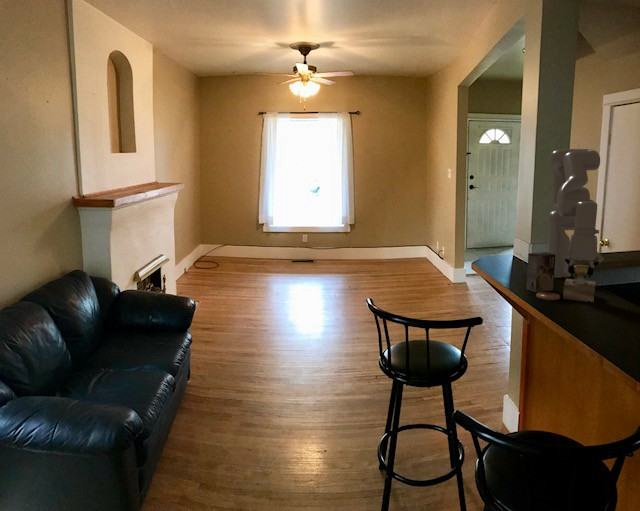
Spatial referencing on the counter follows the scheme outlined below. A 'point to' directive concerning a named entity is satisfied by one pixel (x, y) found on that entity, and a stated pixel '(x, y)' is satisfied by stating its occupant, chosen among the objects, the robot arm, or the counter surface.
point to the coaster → (548, 296)
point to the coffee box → (540, 271)
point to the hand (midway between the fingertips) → (580, 275)
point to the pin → (580, 273)
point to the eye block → (579, 290)
